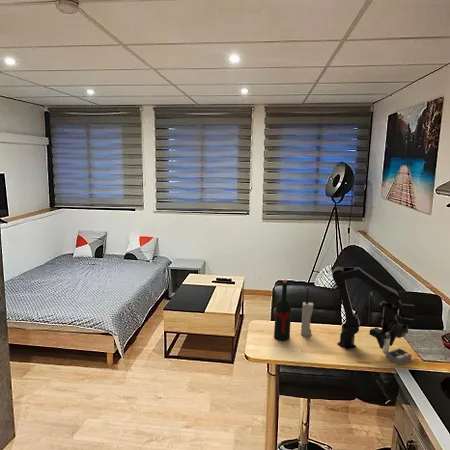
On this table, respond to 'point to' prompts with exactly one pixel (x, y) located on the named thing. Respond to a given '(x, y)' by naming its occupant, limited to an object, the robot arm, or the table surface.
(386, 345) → the plug
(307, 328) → the vintage mobile phone
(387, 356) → the grey compartment tray
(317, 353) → the table surface
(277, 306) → the wine bottle
